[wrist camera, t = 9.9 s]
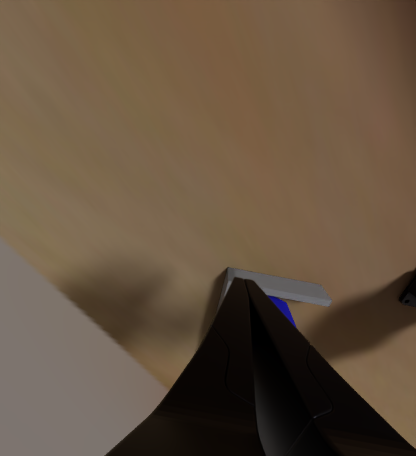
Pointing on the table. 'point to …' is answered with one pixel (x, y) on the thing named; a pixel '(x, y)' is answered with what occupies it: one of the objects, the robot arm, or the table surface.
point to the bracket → (279, 287)
